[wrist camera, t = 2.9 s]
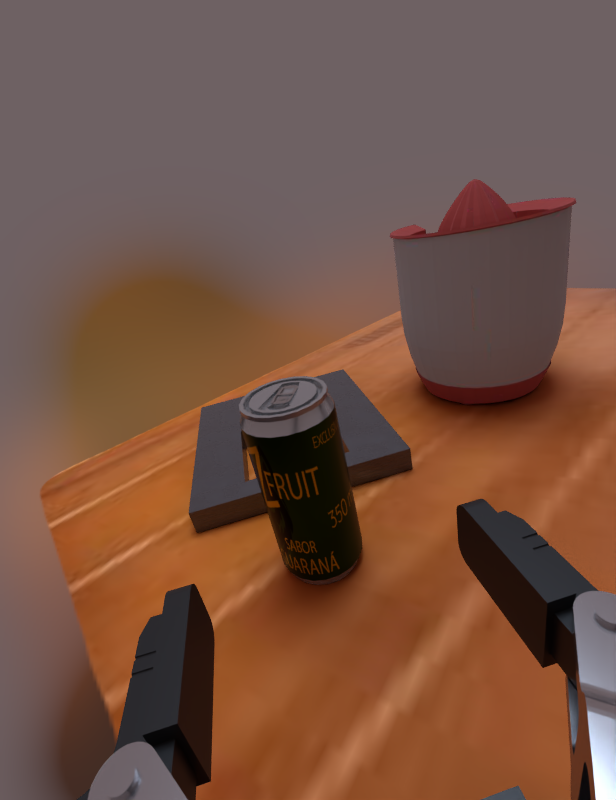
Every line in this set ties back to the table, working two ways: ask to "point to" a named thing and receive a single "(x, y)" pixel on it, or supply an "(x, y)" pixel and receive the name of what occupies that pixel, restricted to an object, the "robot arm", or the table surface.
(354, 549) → the green drink can
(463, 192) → the citrus juicer
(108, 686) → the table surface
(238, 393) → the table surface
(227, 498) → the keyhole plate
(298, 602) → the table surface
